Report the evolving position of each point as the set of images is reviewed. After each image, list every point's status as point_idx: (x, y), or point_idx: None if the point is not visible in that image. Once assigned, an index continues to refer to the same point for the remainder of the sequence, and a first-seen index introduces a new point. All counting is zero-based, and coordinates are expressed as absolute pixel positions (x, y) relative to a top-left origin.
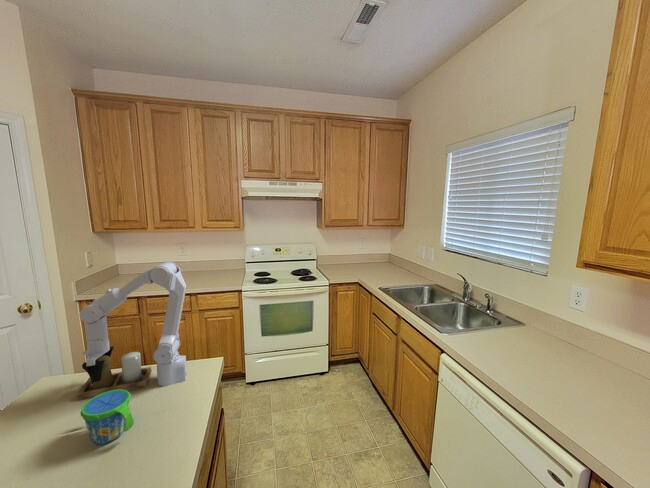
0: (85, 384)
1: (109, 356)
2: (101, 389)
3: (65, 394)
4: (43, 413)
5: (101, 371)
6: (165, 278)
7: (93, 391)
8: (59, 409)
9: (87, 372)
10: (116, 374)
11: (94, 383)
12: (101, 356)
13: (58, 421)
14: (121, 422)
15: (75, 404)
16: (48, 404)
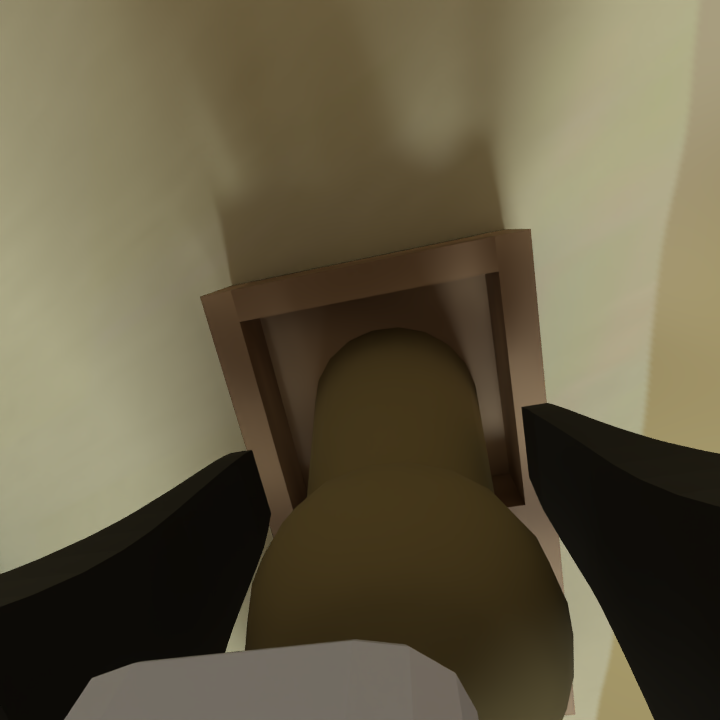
0: (386, 271)
1: (628, 662)
2: (268, 472)
3: (388, 69)
4: (117, 68)
5: (220, 630)
6: None
7: (243, 421)
8: (162, 182)
9: (84, 543)
10: (521, 485)
11: (325, 400)
12: (480, 716)
13: (30, 279)
14: None
15: (217, 279)
16: (242, 6)
